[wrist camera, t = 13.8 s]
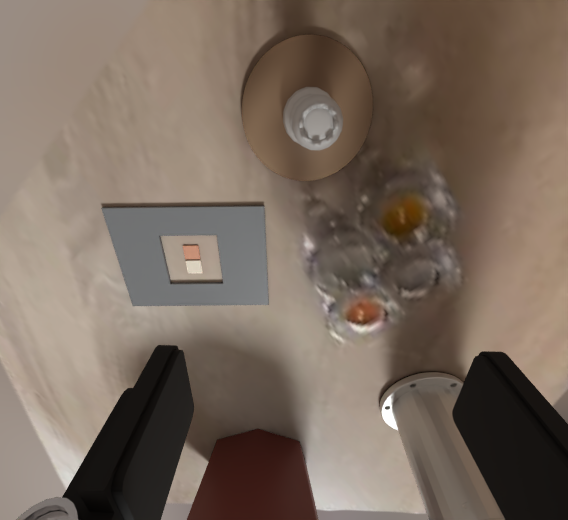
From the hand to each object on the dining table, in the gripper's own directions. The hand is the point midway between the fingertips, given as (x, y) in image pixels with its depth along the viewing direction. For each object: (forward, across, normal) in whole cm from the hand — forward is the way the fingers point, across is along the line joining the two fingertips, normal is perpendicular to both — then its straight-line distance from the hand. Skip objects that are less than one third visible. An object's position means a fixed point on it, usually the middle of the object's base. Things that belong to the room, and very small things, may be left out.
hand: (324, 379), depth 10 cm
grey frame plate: (+22, +12, +7) cm, 25 cm away
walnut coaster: (+22, 0, -7) cm, 23 cm away
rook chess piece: (+21, 0, -7) cm, 22 cm away
